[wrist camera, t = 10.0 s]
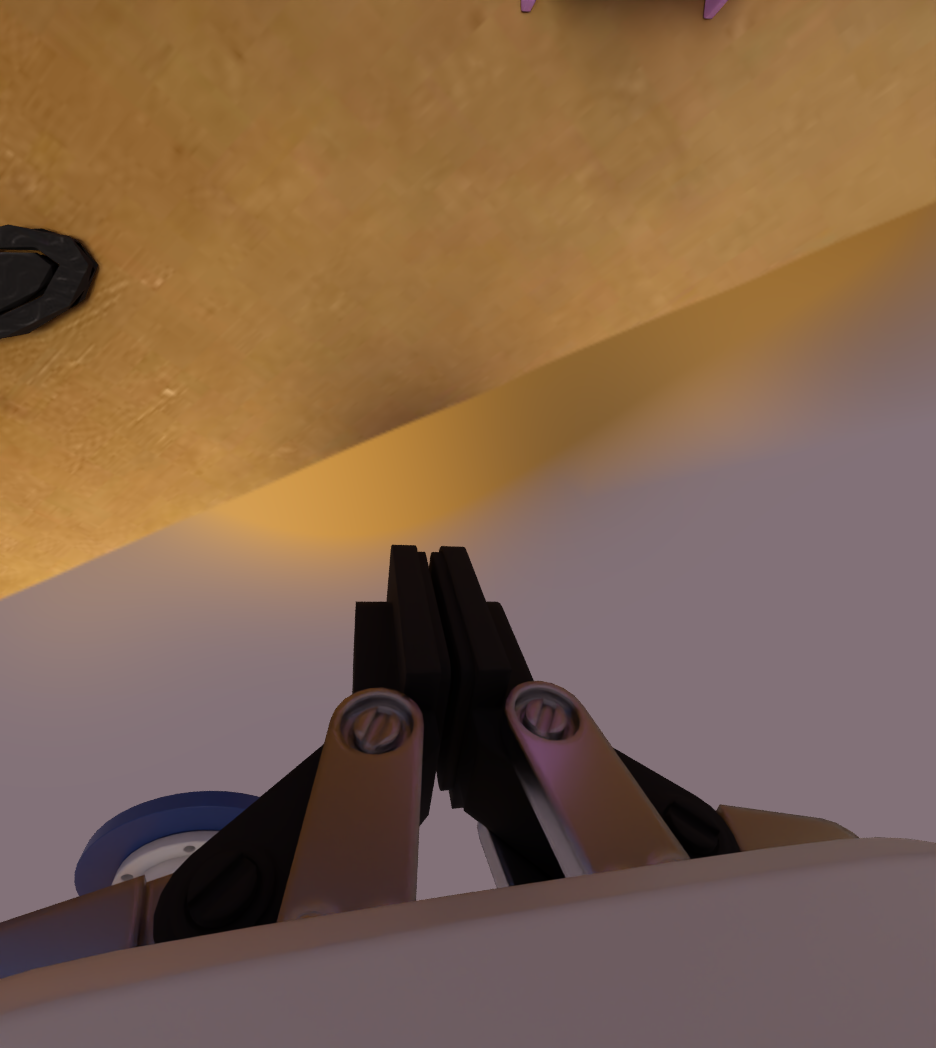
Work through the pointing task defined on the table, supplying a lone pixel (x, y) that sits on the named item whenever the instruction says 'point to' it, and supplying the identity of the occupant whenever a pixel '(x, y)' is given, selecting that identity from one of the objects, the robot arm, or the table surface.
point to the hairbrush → (40, 278)
